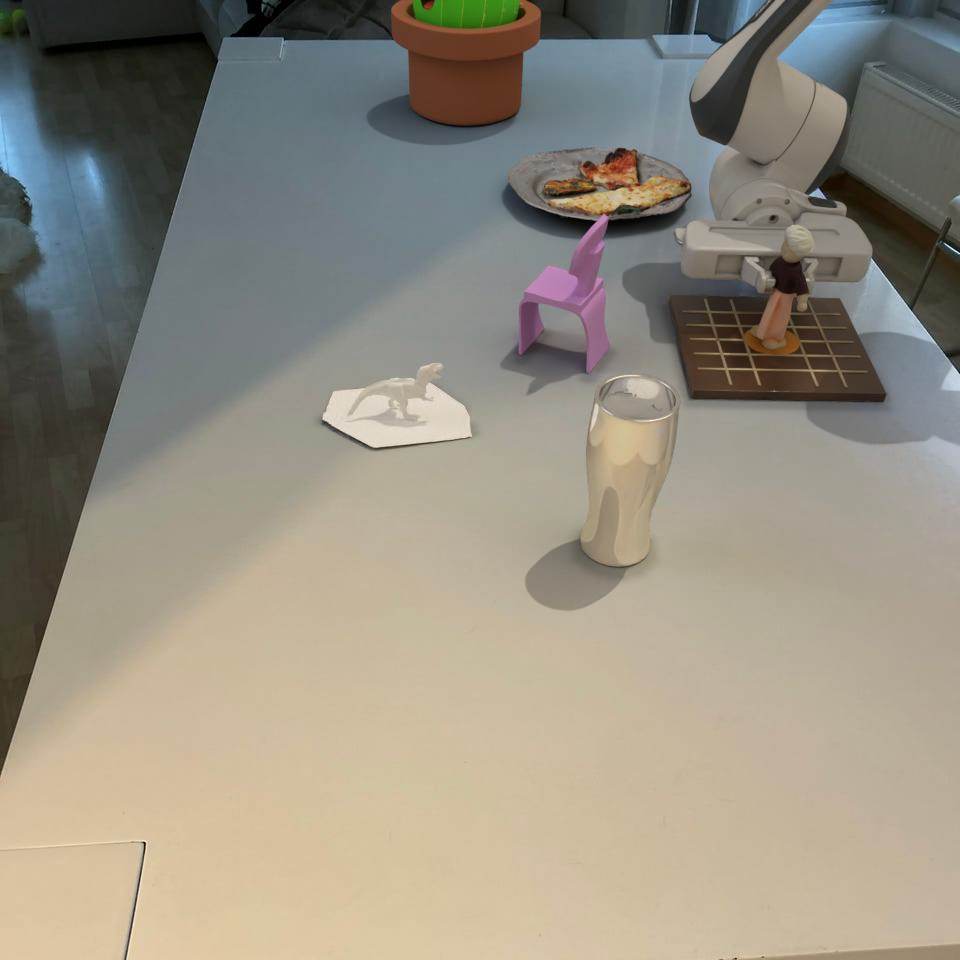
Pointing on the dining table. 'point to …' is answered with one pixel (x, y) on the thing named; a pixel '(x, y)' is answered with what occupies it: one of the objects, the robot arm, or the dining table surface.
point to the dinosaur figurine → (399, 411)
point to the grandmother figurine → (785, 287)
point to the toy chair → (571, 295)
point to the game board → (772, 351)
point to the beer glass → (627, 464)
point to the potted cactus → (465, 56)
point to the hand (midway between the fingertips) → (787, 287)
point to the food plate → (600, 183)
